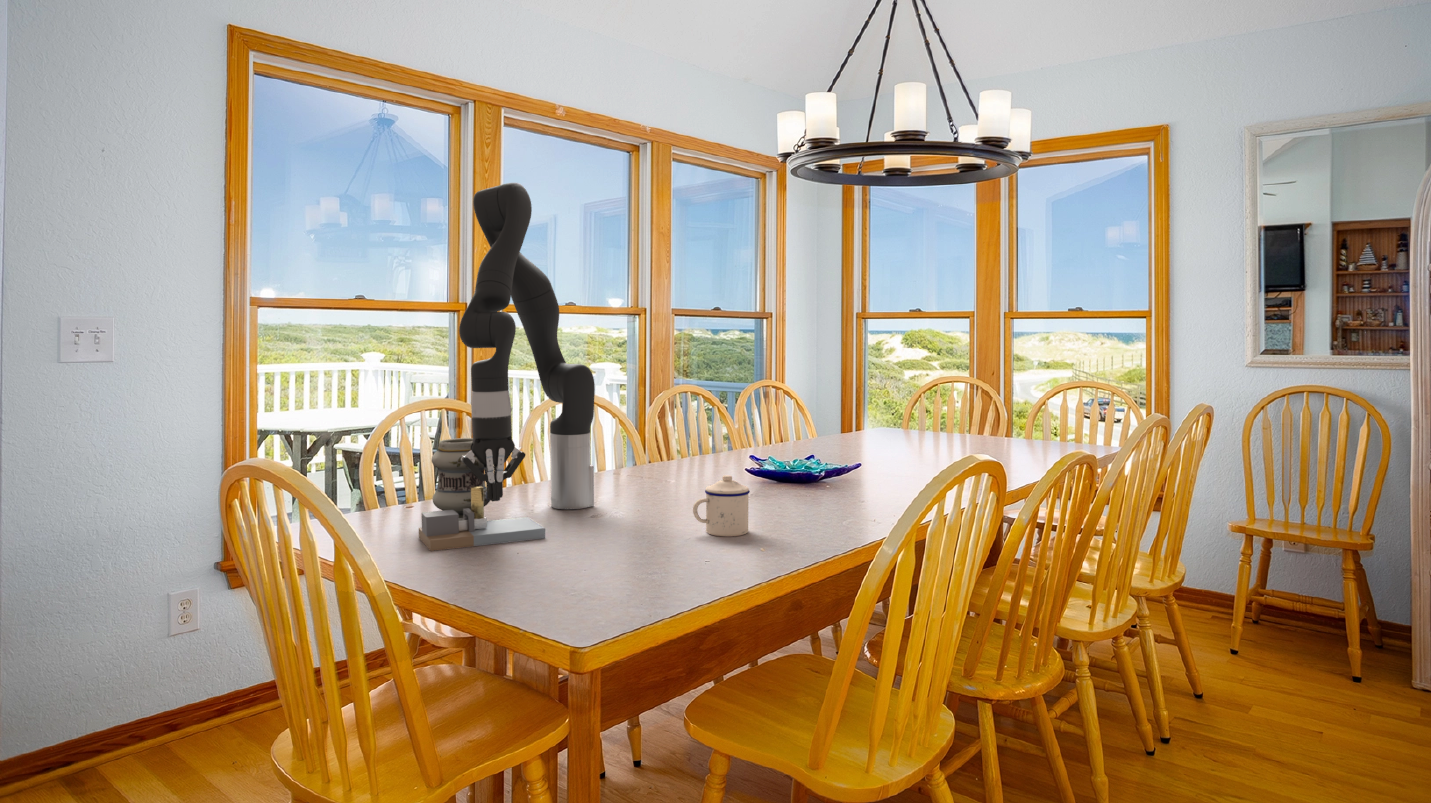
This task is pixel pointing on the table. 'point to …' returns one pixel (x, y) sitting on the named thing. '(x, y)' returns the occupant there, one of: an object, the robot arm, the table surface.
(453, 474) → the apothecary jar
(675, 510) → the table surface
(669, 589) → the table surface
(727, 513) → the teacup with lid
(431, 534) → the door and jamb lock plate
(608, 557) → the table surface
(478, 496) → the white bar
